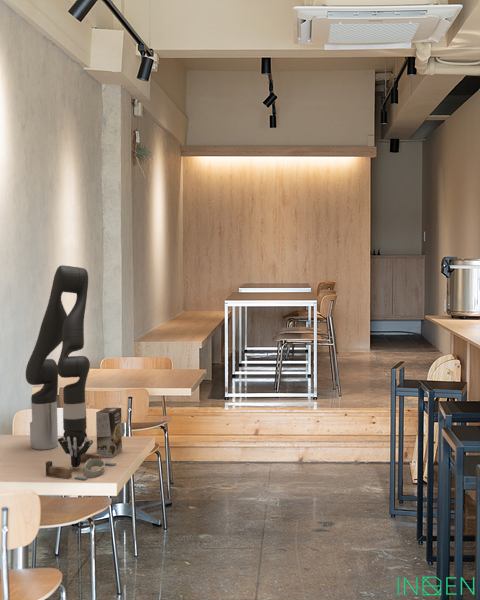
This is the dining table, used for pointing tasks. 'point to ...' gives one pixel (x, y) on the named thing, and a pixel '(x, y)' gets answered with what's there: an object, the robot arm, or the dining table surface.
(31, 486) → the dining table surface
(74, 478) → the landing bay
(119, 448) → the coffee box
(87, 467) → the wristwatch
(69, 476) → the corridor
